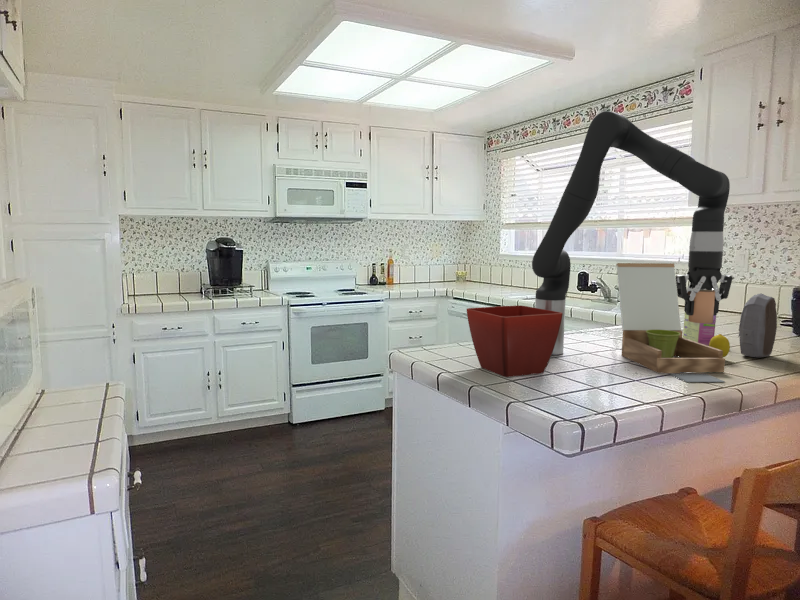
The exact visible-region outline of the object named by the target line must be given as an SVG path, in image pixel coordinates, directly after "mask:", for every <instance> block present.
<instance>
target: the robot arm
mask: <svg viewBox="0 0 800 600" xmlns="http://www.w3.org/2000/svg"><path fill="white" fill-rule="evenodd" d="M611 148H615V149H618V150H621V151H623V152H627V153H629V154H631V155H633V156H635V157H636V158H638V159H640V160H641V161H642V162H643V163H645V164H646V165H647V166H648V167H650V168H651V169H652V170H654V171H656V172H658V173H659V174H661V175H662V176H664V177H666V178H668V179H670V180H671V181H674V182H676V183H678V184H679V185H680V186H682V187H683V188H685V189H686V190H688V191H689V192H691V193H693V194H694V195H695V196H697V197H698V203H697V208H696V210H695V211H694V212H693V215H692V221H691V222H692V223H691V235H690V238H689V247H688V248H689V251H688V262H687V263H688V265H687V266H688V271H687V273H686V274H675V278H676V287H677V297H678V298H680V299H683V301H684V309H683V311H684V314H685V313H686V315H693V312H694V301H693V300H694V298H695V296H696V293H698V292H699V291H700V289H711V290H714V292H715V303H714V316H716V317H717V314H718V313H719V308H720V302H721V300H726V299H728V298H729V294H730V290H731V286H732V281H733V279H734V277H733V276H731V275H727V274H723V273H722V272H721V268H722V267H723V257H724V255H723V254H724V243H725V242H724V241H725V240H724V226H725V212H726V210H727V209H726V208H727V204H728V200H729V197H730V196H729V195H730V188H731V185H730V184H731V183H730V179H729V176H727V174H725V173H724V172H723V171H719V170H716V169H715V168H712V167H709V166H708V165H705V164H703V163H701V162H699V161H697V160H696V159H695V158H694V157H692V156H691V155H689V154H687V153H685V152H683V151H681V150H679V149H678V148H675V147H673V146H671V145H669V144H667V143H665V142H663V141H661V140H658V139H656V138H654V137H653V136H651V135H649V134H648V133H647V132H644V131H643V130H641V129H640V128H639V127H638V126H636V125H635V124H634V123H633V122H631V121H630V120H629V119H628V118H627V117H626V116H625V115H623V114H620V113H618V112H614V111H611V110H603V111H601V112H599V113H597V114H596V115H595V116H594V117H593V118H592V121H591V122H590V124H589V126H588V130H587V132H586V135H585V139H584V142H583V145H582V148H581V150H580V154H579V157H578V159H577V161H576V164H575V166H574V168H573V170H572V173H571V175H570V177H569V180H568V182H567V185H566V187H565V188H564V191H563V193H562V196H561V197H560V201H559V203H558V206H557V208H556V210H555V212H554V215H553V217H552V219H551V221H550V223H549V226H548V228H547V231H546V233H545V235H544V236H543V238H542V239H541V242H540V243H539V245H538V247H537V249H536V250H535V252H534V254H533V257H532V261H531V267H532V271H533V274H534V275H535V276H536V277H539V278H543V280H542V283H541V285H540V286H538V288H536V290H535V302H534V303H535V304H534V305H535V306H534V308H539V309H545V310H550V311H556V312H561V313H563V314H562V320H561V324H560V329H559V333H558V337H557V340H556V343H555V346H554V349H553V352H552V355H555V356H556V355H557V356H559V355H563V353H564V343H565V342H564V340H565V317H566V301H567V300H566V297H567V293H568V291H569V288H570V287H569V286H570V279H571V278H570V277H571V257H570V256H569V253H568V252H567V251H566V250H565V249H564V247H565V245H566V243H567V242H568V240H569V239H570V238H571V236H572V235H573V234H574V232H576V230H578V228H579V227H580V226H581V225H582V224H583V223H584V221H585V220H586V219H587V218H588V216H589V214H590V212H591V211H592V207H593V206H594V204H595V200H597V196H598V193H599V188H600V179H601V170H602V166H603V162H604V160H605V158H606V156H607V154H608V152H609V151H610V149H611ZM688 282H689V284H688V286H687V283H688ZM718 282H720V284H719V285H718ZM552 355H551V356H552Z"/></svg>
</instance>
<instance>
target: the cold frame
mask: <svg viewBox="0 0 800 600" xmlns="http://www.w3.org/2000/svg"><path fill="white" fill-rule="evenodd" d="M646 331H647V330H623V331H622V342H621V356H622V357H624V358H626V359H627V360H630V361H633V362H634V363H636V364H637V365H638V364H639V365H640V366H643V367H645V368H647V369H649V370H651V371H653V372H655V373H656V374H681V373H680V372H724V373H725V365H726V358H725V357H723V358H722V356H723V351H722V350H719V349H716V348H713V347H710V346H707V345H704V344H701V343H698V342H695V341H692V340H689V339H685V338H683V330H682V329H681V330H670V331H676V332H679V333H681V335H680V336H679V338H678V340H677V343H676V347H675V352H674V356H673V358H661V356H662V351H661V350H659V349H656V348H654V347H651V346H649V338H648V335H647V333H646ZM678 356H679V357H678ZM680 357H681V358H680Z"/></svg>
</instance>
